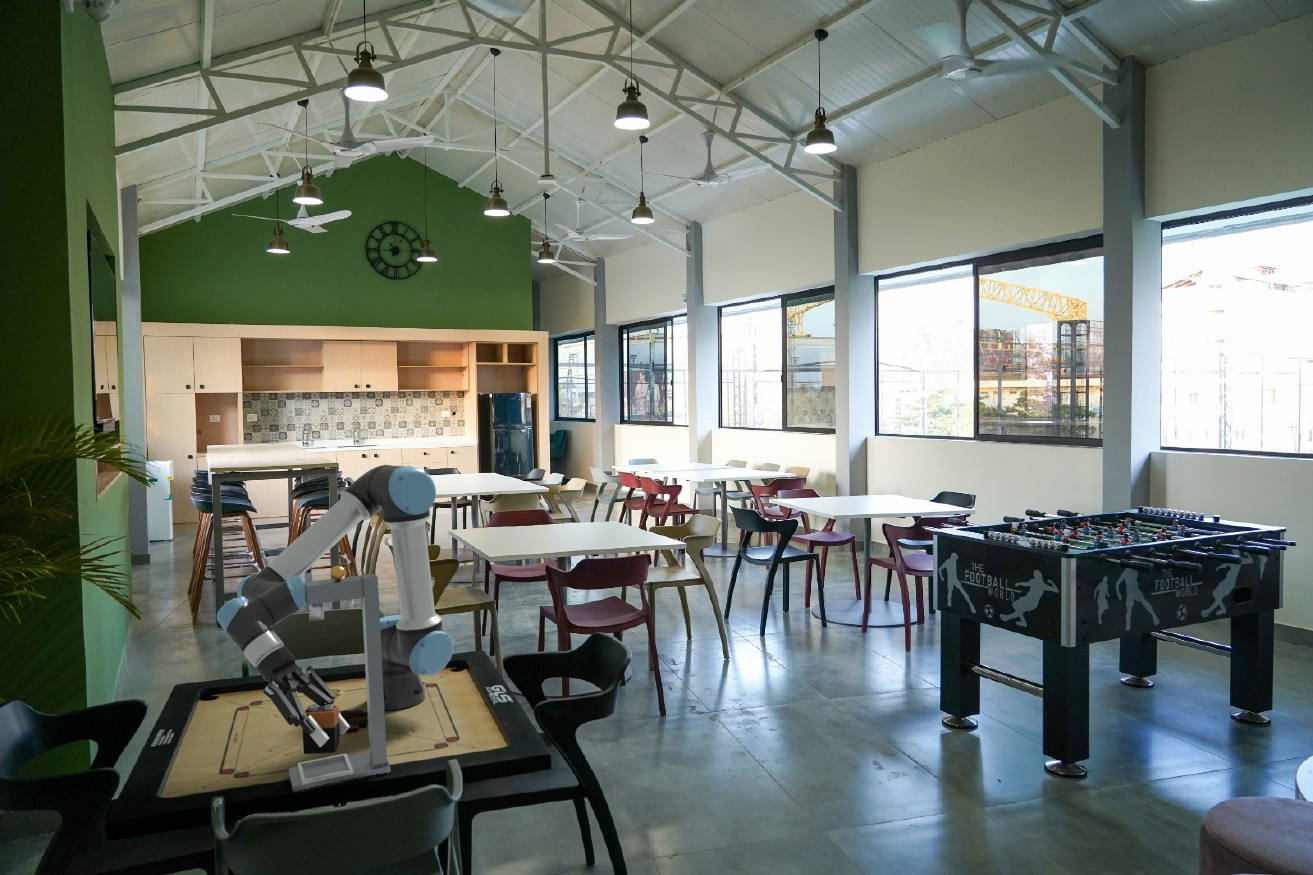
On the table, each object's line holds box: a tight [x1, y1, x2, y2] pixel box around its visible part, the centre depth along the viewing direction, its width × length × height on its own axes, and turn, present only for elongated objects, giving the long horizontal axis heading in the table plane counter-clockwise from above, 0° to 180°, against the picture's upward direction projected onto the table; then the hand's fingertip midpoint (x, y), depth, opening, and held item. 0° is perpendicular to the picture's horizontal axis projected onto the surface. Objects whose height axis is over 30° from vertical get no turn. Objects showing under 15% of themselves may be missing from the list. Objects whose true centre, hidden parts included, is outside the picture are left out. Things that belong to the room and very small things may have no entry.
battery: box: [302, 703, 341, 755], centre depth 198 cm, size 4×7×10 cm, turn 94°
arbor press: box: [288, 565, 392, 792], centre depth 199 cm, size 10×20×46 cm, turn 116°
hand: (335, 736), depth 197 cm, fingers closed on battery, 6 cm apart
